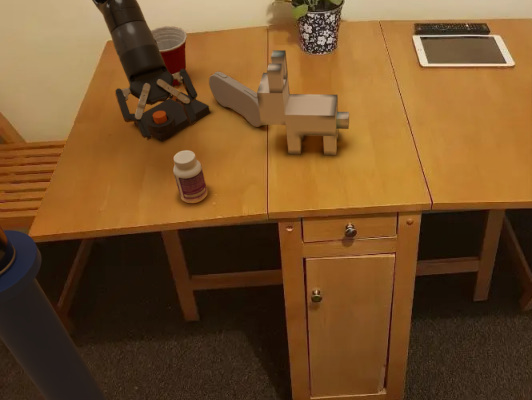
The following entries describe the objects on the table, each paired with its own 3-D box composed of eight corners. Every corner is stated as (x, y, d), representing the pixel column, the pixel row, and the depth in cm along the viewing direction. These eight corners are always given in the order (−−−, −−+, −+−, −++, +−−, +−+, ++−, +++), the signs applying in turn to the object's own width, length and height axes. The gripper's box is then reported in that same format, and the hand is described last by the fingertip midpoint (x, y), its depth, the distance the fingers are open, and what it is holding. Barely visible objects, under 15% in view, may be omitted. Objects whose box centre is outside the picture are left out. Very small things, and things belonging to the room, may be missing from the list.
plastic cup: (150, 94, 142) (137, 49, 134) (155, 71, 150) (143, 28, 141) (194, 90, 142) (184, 45, 134) (197, 67, 150) (188, 24, 142)
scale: (161, 143, 127) (158, 130, 125) (133, 126, 132) (129, 113, 130) (211, 113, 135) (208, 100, 132) (182, 98, 140) (179, 85, 137)
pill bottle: (213, 191, 115) (205, 153, 108) (195, 207, 111) (185, 169, 105) (193, 182, 117) (183, 144, 110) (174, 198, 114) (163, 159, 107)
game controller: (271, 128, 129) (267, 96, 124) (263, 132, 128) (259, 101, 122) (219, 95, 140) (213, 65, 134) (211, 99, 139) (205, 68, 133)
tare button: (159, 126, 126) (157, 119, 125) (151, 121, 128) (149, 114, 126) (169, 120, 128) (168, 113, 127) (162, 115, 129) (160, 109, 128)
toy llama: (348, 155, 121) (346, 70, 107) (265, 153, 123) (253, 70, 109) (350, 134, 126) (349, 50, 113) (270, 132, 128) (260, 50, 115)
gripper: (172, 48, 116) (203, 124, 116) (101, 69, 111) (134, 147, 111) (175, 34, 108) (209, 114, 109) (100, 55, 104) (135, 139, 104)
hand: (171, 131), depth 110 cm, fingers open, 8 cm apart
